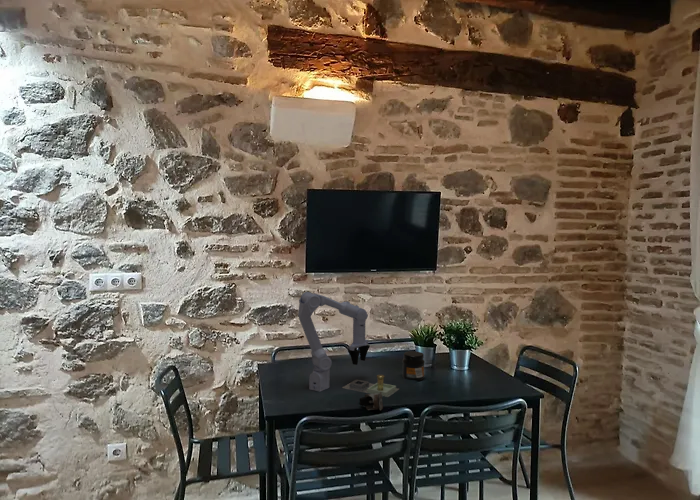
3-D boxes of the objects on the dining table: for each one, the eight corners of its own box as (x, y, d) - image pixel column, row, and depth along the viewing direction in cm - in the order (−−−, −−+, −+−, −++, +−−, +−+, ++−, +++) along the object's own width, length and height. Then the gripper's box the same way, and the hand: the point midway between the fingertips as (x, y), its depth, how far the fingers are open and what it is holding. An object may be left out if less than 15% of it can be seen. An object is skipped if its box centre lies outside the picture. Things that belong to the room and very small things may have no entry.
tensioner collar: (362, 389, 226) (362, 386, 226) (349, 386, 230) (349, 383, 229) (369, 384, 232) (369, 381, 232) (356, 382, 235) (356, 379, 235)
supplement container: (422, 382, 238) (422, 357, 237) (400, 380, 241) (400, 355, 241) (426, 376, 248) (426, 352, 247) (405, 373, 251) (405, 350, 251)
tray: (386, 395, 218) (386, 392, 218) (367, 392, 223) (367, 388, 222) (395, 388, 227) (395, 385, 227) (377, 385, 231) (377, 382, 231)
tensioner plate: (388, 398, 217) (388, 397, 217) (341, 389, 228) (341, 387, 228) (399, 390, 227) (399, 388, 227) (354, 382, 238) (354, 380, 238)
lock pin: (382, 391, 223) (382, 377, 222) (375, 390, 225) (375, 376, 224) (385, 389, 226) (385, 375, 225) (378, 388, 228) (378, 374, 227)
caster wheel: (362, 408, 213) (386, 406, 211) (356, 412, 202) (381, 410, 200) (361, 391, 214) (384, 390, 212) (355, 395, 203) (379, 393, 201)
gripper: (359, 337, 227) (359, 367, 228) (374, 331, 239) (373, 359, 240) (345, 335, 230) (345, 365, 231) (360, 329, 243) (360, 357, 244)
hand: (359, 362), depth 236 cm, fingers open, 7 cm apart
